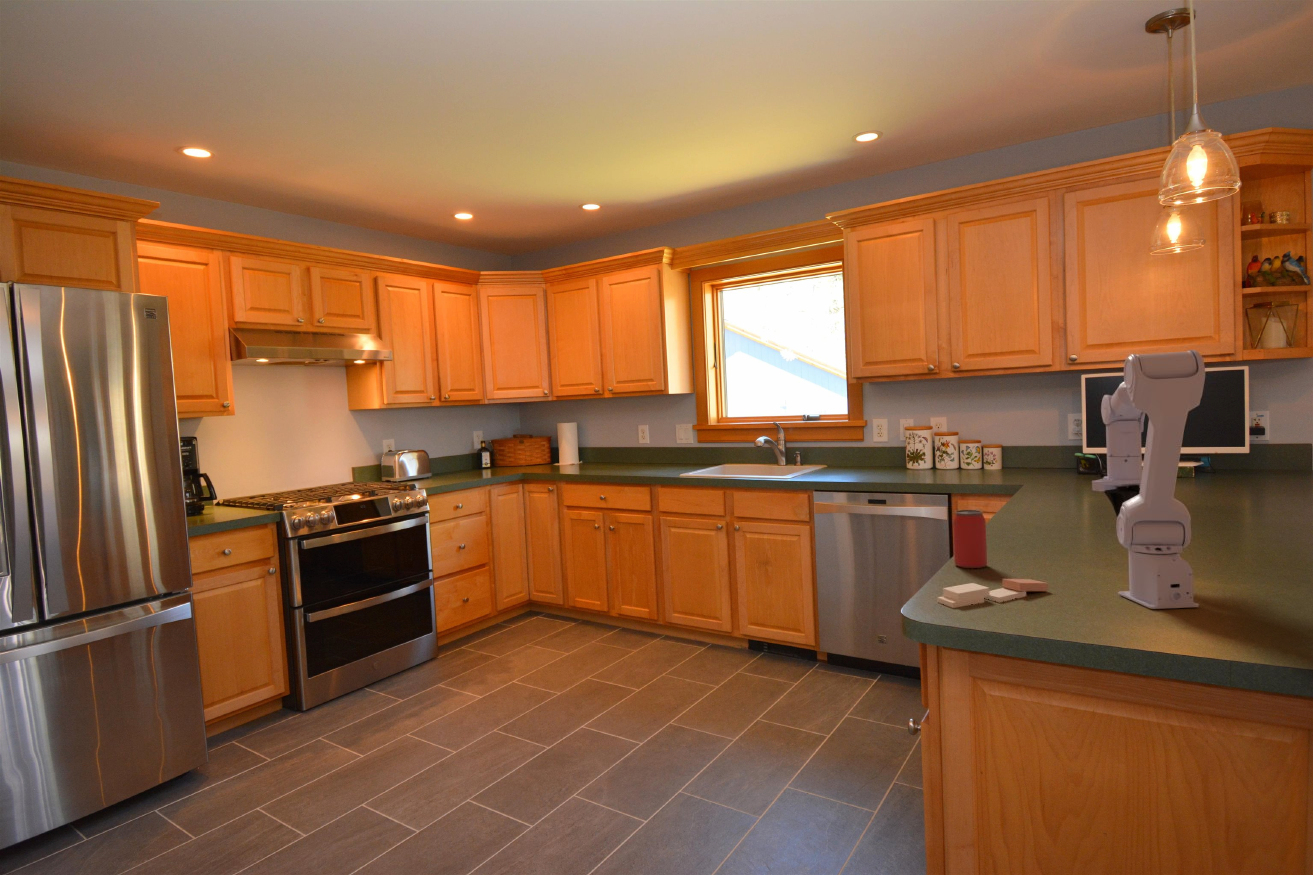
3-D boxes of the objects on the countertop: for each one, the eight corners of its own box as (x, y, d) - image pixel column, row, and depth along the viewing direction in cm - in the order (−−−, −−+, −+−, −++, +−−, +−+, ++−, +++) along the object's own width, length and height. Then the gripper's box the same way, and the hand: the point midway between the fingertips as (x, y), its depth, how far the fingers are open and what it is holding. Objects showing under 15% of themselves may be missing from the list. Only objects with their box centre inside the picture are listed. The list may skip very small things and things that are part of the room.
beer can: (989, 569, 150) (987, 514, 150) (955, 569, 152) (953, 514, 152) (985, 562, 156) (983, 509, 156) (953, 561, 159) (951, 509, 158)
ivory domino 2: (968, 592, 132) (937, 597, 130) (984, 597, 128) (952, 602, 126) (968, 599, 132) (937, 605, 130) (984, 605, 128) (952, 610, 126)
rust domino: (1030, 579, 136) (1002, 578, 133) (1048, 583, 132) (1020, 582, 130) (1029, 586, 136) (1002, 586, 133) (1047, 591, 132) (1019, 591, 130)
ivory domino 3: (1007, 586, 134) (980, 592, 131) (1026, 591, 130) (999, 597, 127) (1007, 594, 134) (981, 600, 131) (1026, 599, 130) (999, 605, 127)
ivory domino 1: (972, 582, 132) (942, 588, 130) (989, 587, 128) (958, 593, 126) (973, 590, 132) (943, 596, 130) (989, 595, 129) (958, 601, 126)
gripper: (1132, 451, 144) (1134, 517, 145) (1077, 457, 140) (1079, 525, 140) (1166, 453, 137) (1168, 522, 138) (1110, 459, 133) (1112, 530, 134)
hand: (1125, 524), depth 139 cm, fingers closed
